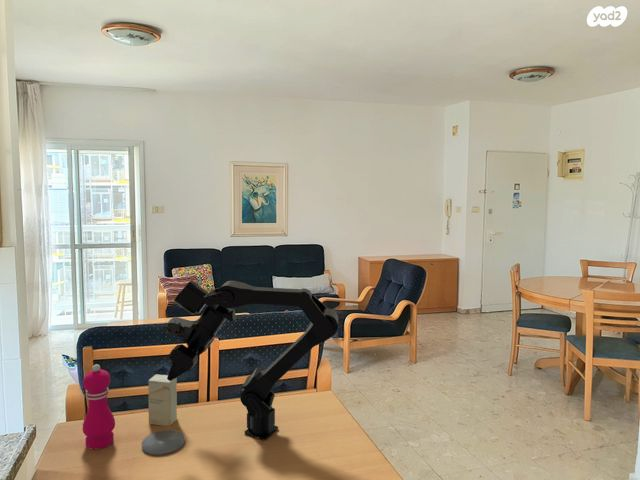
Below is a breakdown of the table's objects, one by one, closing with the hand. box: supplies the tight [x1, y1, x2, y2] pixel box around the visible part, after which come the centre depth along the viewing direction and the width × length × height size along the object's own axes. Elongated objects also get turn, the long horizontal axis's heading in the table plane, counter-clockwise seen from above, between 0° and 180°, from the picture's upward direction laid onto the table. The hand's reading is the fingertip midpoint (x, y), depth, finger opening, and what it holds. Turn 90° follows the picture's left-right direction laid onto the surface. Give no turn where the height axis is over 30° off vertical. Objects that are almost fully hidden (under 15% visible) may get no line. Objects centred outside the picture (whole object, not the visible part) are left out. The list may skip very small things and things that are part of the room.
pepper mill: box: [82, 363, 116, 450], centre depth 116 cm, size 7×7×20 cm
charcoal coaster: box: [141, 429, 186, 456], centre depth 117 cm, size 10×10×1 cm
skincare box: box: [147, 373, 178, 427], centre depth 127 cm, size 6×4×12 cm
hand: (175, 372), depth 122 cm, fingers open, 9 cm apart
